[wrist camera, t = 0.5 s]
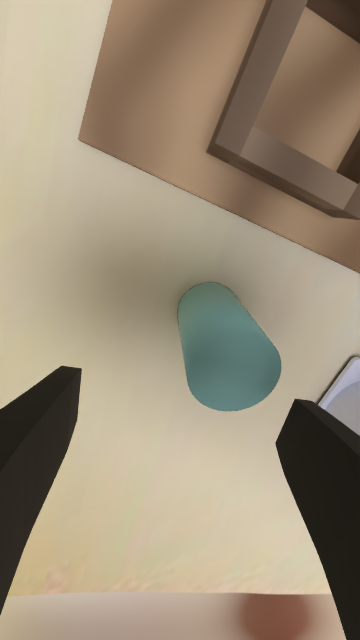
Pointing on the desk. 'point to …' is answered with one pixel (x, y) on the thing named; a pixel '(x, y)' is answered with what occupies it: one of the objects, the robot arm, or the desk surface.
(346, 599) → the robot arm
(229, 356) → the teal peg
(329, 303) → the desk surface
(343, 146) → the peg stand
